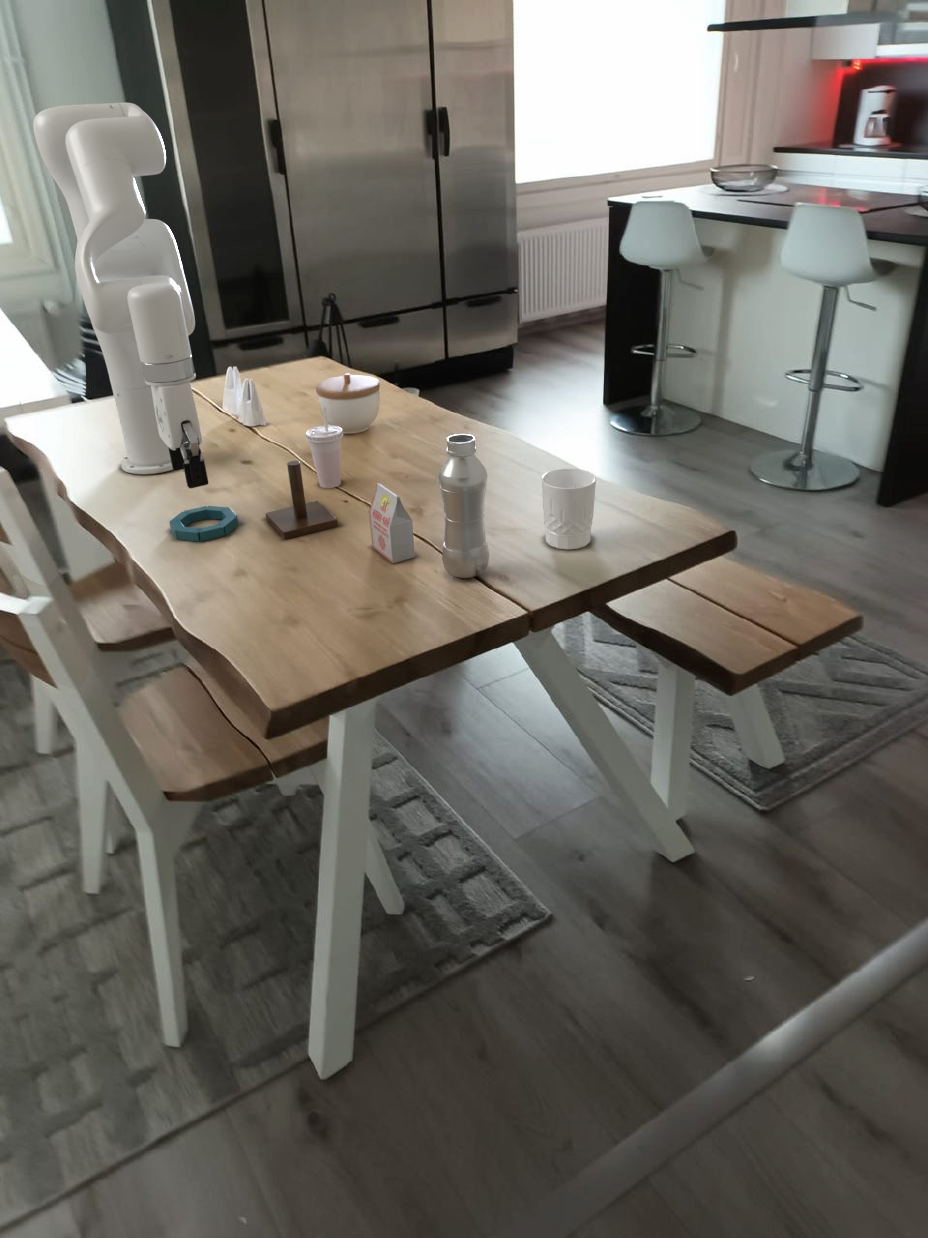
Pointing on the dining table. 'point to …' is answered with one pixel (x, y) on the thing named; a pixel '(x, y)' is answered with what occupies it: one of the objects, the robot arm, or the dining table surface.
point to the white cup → (568, 507)
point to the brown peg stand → (300, 510)
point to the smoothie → (326, 452)
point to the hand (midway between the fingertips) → (190, 477)
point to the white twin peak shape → (242, 399)
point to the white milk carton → (390, 526)
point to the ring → (203, 533)
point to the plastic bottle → (464, 508)
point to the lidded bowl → (350, 401)
